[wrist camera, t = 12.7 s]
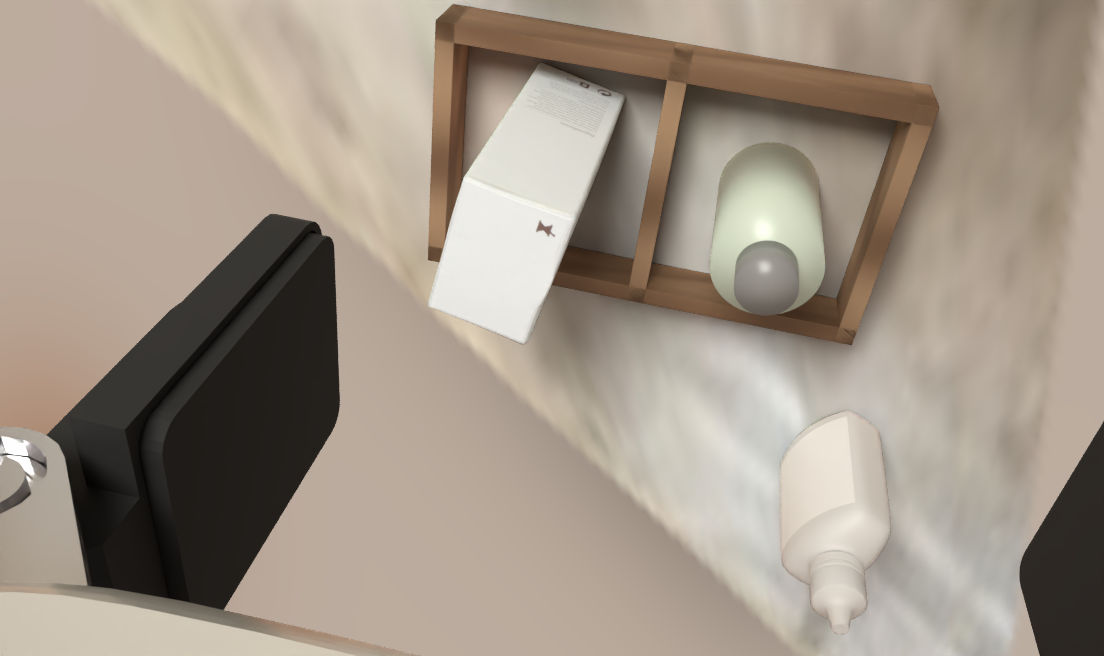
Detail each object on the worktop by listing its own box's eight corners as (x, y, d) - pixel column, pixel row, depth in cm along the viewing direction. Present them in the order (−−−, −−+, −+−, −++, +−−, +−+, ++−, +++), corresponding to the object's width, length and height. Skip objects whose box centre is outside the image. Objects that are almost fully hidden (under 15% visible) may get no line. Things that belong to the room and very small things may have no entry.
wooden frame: (453, 4, 40) (435, 20, 38) (930, 85, 38) (939, 107, 36) (443, 235, 47) (428, 259, 45) (848, 315, 45) (851, 345, 43)
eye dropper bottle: (763, 427, 49) (759, 605, 40) (868, 401, 47) (892, 584, 37) (790, 485, 51) (793, 669, 42) (893, 463, 49) (922, 652, 39)
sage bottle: (730, 134, 41) (720, 226, 34) (830, 152, 40) (841, 249, 33) (710, 221, 43) (696, 324, 36) (803, 239, 43) (809, 347, 36)
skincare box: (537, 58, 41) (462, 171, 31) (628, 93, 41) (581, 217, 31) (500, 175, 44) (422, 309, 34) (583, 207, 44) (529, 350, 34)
